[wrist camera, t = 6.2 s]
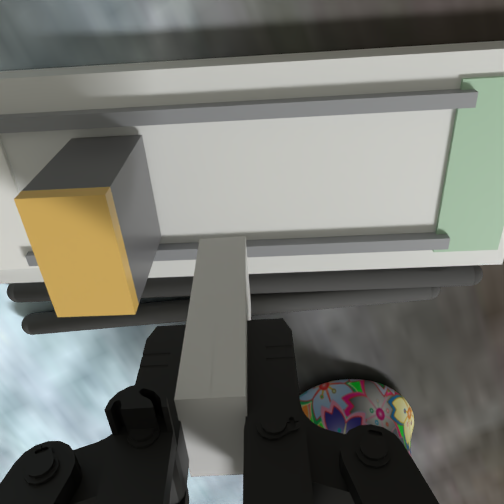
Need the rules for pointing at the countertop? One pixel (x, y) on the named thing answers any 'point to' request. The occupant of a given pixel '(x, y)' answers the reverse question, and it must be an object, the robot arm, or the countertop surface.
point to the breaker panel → (284, 154)
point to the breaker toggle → (93, 225)
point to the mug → (358, 407)
